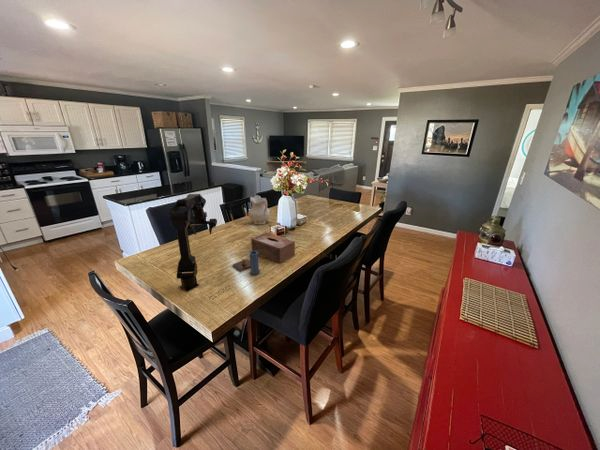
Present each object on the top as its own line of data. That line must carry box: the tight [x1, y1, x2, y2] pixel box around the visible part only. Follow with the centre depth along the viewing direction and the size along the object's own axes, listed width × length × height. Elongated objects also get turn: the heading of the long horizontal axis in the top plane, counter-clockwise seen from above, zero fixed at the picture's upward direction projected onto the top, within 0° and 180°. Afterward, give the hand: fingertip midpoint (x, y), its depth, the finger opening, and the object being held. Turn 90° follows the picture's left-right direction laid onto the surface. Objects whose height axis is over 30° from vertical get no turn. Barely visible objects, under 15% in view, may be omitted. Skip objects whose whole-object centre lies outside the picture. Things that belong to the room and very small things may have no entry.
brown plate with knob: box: [232, 258, 251, 272], centre depth 144 cm, size 10×9×4 cm
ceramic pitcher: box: [247, 194, 271, 225], centre depth 215 cm, size 22×20×25 cm
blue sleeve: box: [249, 250, 260, 276], centre depth 135 cm, size 5×5×13 cm
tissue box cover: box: [250, 231, 296, 264], centre depth 159 cm, size 26×14×10 cm, turn 53°
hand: (203, 234), depth 151 cm, fingers open, 9 cm apart
